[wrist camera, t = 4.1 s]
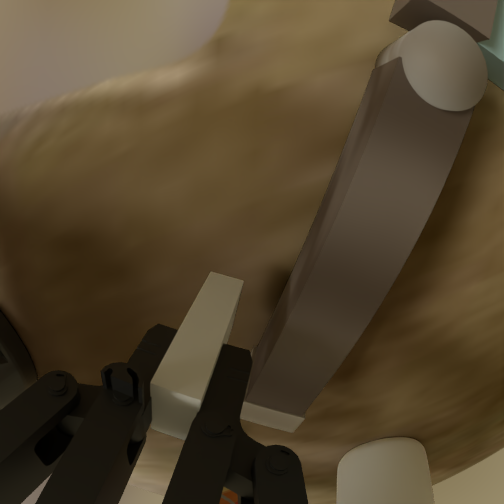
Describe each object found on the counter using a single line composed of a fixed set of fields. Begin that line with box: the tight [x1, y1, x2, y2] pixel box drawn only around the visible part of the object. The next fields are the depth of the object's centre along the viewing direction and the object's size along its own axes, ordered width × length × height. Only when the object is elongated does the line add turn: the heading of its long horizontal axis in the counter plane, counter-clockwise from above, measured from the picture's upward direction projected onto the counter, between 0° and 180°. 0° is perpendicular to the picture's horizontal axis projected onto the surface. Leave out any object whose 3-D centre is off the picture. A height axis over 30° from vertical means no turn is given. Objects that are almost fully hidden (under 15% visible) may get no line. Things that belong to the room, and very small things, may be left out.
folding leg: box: [240, 20, 488, 433], centre depth 13 cm, size 19×3×4 cm, turn 162°
